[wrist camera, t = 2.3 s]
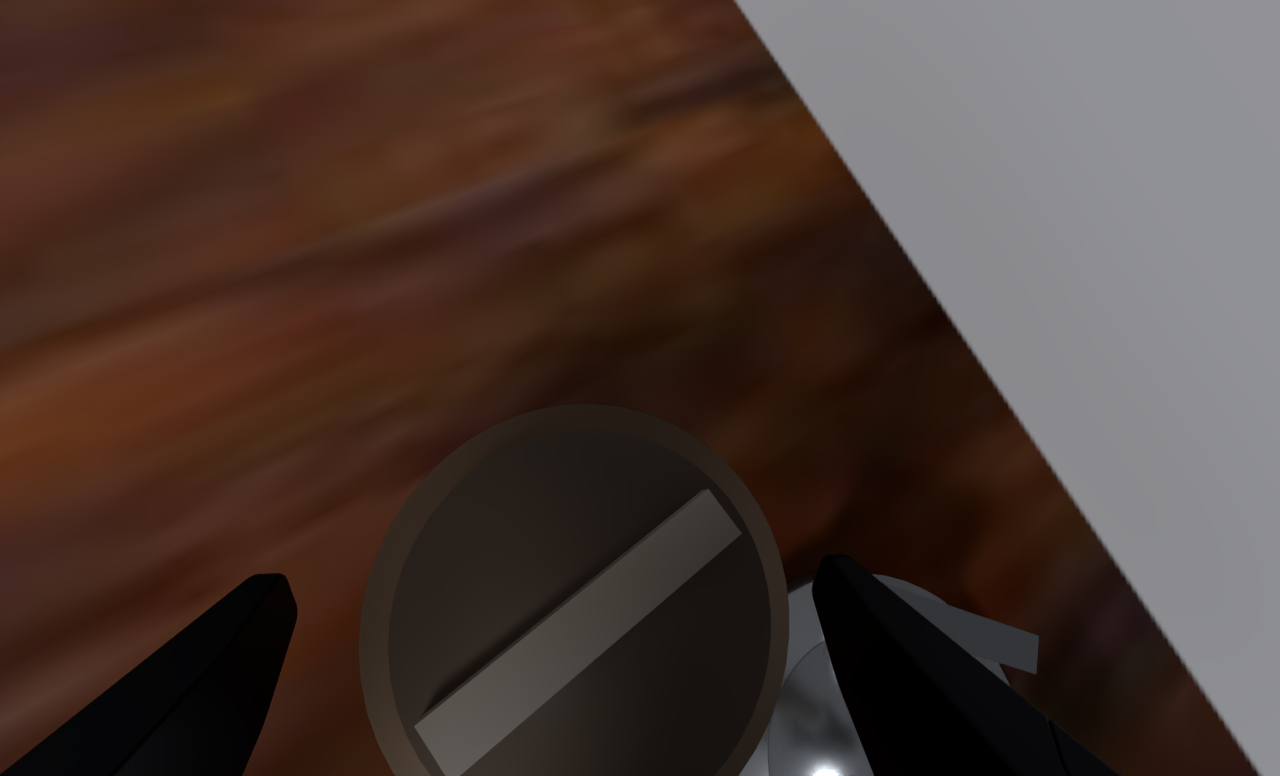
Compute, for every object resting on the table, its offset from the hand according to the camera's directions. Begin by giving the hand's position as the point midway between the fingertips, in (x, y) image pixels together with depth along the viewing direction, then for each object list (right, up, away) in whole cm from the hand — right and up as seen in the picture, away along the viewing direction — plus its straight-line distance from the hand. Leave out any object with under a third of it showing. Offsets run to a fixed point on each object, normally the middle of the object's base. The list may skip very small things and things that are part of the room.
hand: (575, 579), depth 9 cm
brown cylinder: (-1, -2, +8) cm, 8 cm away
